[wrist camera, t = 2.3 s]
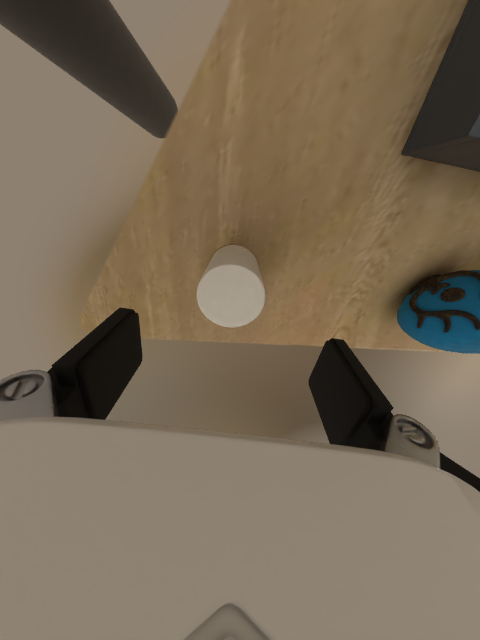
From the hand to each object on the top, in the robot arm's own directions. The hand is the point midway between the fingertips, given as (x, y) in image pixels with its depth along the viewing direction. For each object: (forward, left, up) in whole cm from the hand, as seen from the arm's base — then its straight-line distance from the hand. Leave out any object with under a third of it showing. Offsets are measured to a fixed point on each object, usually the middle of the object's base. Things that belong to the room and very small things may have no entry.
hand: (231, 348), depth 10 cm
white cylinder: (0, 0, -13) cm, 13 cm away
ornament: (+20, +1, -13) cm, 24 cm away
